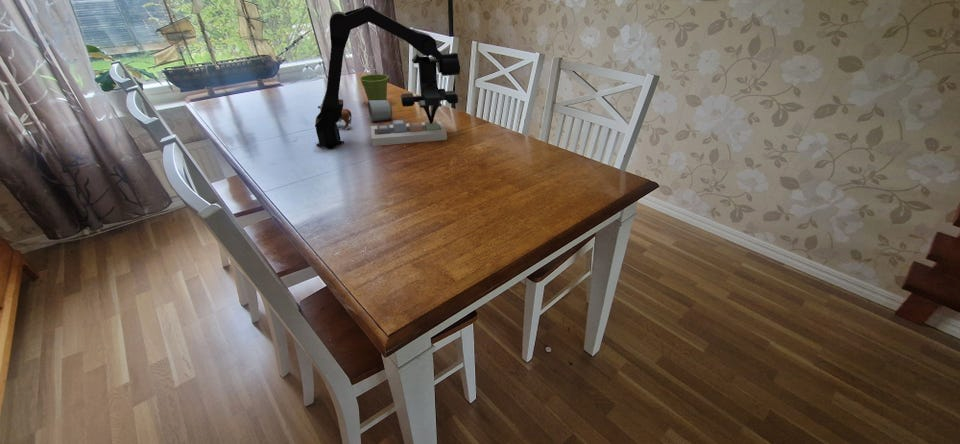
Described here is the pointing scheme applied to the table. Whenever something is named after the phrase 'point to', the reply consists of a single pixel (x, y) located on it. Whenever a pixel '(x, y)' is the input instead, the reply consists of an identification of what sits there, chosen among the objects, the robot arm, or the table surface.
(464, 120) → the table surface
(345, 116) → the bull figurine
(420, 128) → the key terracotta
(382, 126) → the key charcoal
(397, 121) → the key slate
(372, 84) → the plant pot
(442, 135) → the keypad
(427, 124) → the key sage
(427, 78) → the robot arm
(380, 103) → the ceramic mug
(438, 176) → the table surface
